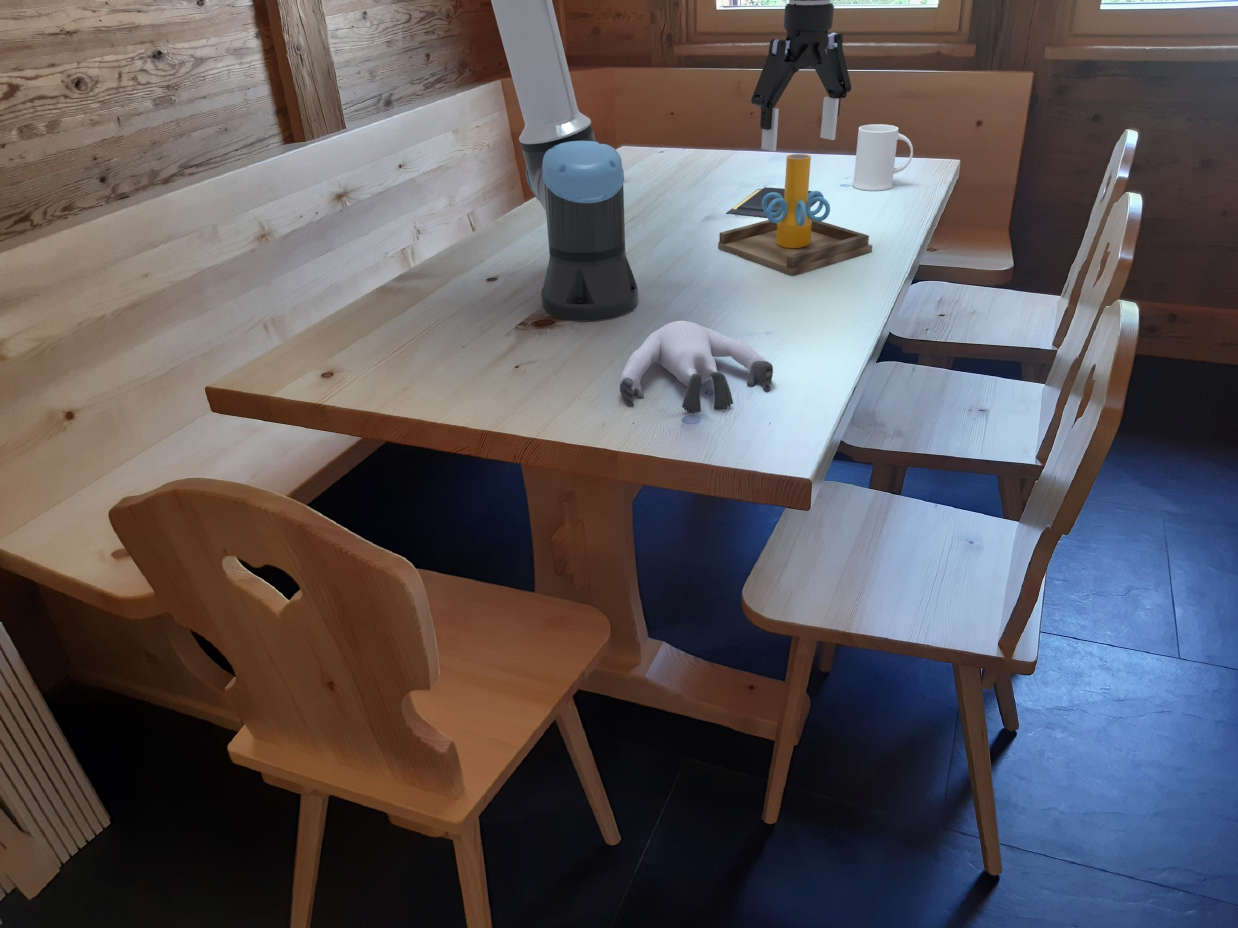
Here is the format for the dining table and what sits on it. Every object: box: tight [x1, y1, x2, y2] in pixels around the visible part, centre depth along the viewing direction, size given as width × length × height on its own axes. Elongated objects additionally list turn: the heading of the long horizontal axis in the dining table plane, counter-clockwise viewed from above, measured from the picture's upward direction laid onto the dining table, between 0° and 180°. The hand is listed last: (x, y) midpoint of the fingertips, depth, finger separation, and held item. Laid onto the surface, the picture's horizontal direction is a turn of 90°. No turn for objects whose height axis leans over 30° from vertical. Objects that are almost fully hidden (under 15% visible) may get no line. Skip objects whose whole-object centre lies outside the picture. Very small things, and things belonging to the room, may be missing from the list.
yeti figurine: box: [619, 320, 774, 414], centre depth 118 cm, size 20×7×20 cm
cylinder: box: [762, 153, 831, 249], centre depth 157 cm, size 12×10×15 cm
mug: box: [851, 123, 914, 192], centre depth 193 cm, size 12×8×12 cm
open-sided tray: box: [717, 217, 873, 277], centre depth 161 cm, size 19×19×3 cm
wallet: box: [725, 186, 818, 219], centre depth 187 cm, size 20×2×15 cm
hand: (798, 144), depth 152 cm, fingers open, 13 cm apart
